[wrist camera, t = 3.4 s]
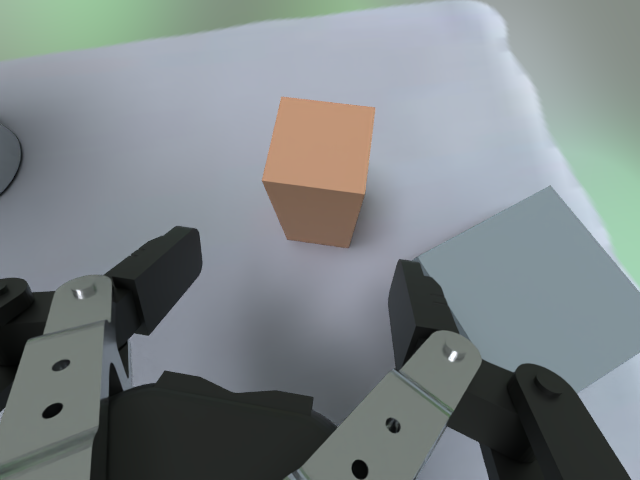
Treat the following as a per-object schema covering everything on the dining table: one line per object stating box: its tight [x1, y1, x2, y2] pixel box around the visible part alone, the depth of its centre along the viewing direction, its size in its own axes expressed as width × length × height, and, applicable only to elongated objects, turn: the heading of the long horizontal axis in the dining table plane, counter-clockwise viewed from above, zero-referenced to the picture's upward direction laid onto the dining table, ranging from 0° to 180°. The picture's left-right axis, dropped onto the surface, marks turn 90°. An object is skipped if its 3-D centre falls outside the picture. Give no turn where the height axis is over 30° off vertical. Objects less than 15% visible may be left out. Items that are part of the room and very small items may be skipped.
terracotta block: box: [262, 97, 375, 248], centre depth 20 cm, size 5×5×10 cm
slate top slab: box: [412, 185, 640, 393], centre depth 18 cm, size 10×10×3 cm
